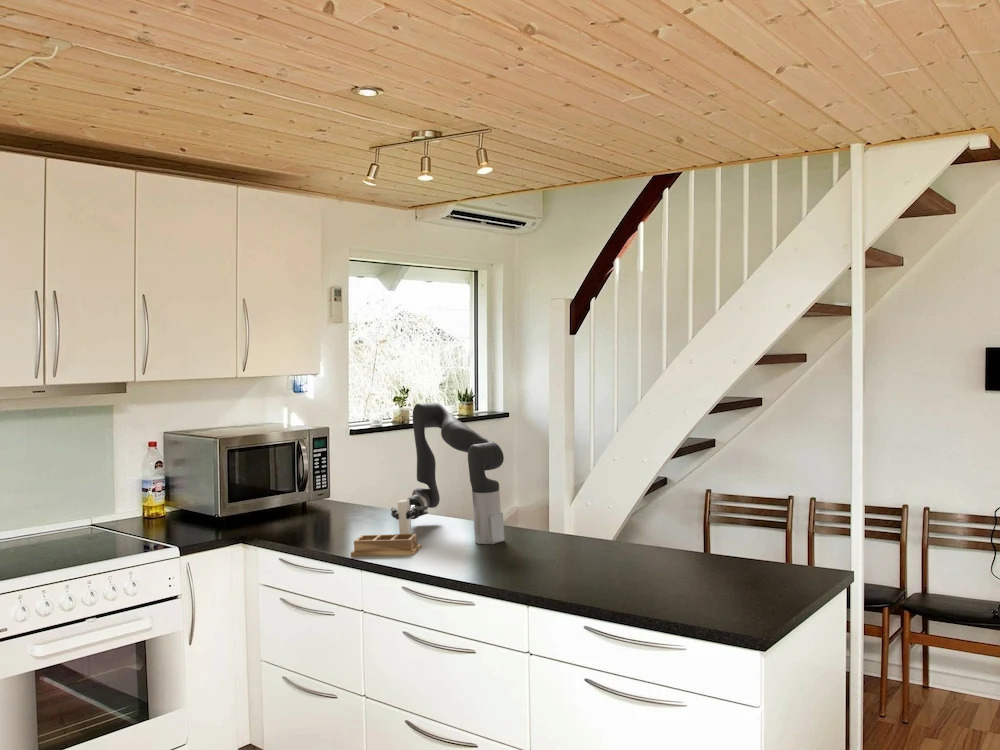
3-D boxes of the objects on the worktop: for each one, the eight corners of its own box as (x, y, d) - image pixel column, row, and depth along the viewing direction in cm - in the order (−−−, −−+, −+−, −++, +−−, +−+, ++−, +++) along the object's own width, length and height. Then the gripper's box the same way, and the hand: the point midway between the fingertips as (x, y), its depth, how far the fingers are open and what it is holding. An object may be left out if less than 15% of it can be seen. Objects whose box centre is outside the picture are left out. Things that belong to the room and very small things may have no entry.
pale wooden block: (403, 534, 297) (400, 499, 297) (411, 533, 297) (409, 499, 296) (399, 537, 293) (397, 502, 292) (408, 536, 292) (405, 501, 292)
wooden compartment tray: (360, 548, 290) (359, 534, 290) (421, 547, 287) (420, 533, 287) (350, 556, 280) (350, 541, 280) (413, 554, 277) (412, 540, 277)
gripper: (395, 496, 309) (381, 506, 292) (433, 495, 307) (421, 504, 290) (396, 517, 310) (382, 528, 293) (434, 516, 308) (423, 526, 291)
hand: (402, 516), depth 292 cm, fingers closed on pale wooden block, 3 cm apart
